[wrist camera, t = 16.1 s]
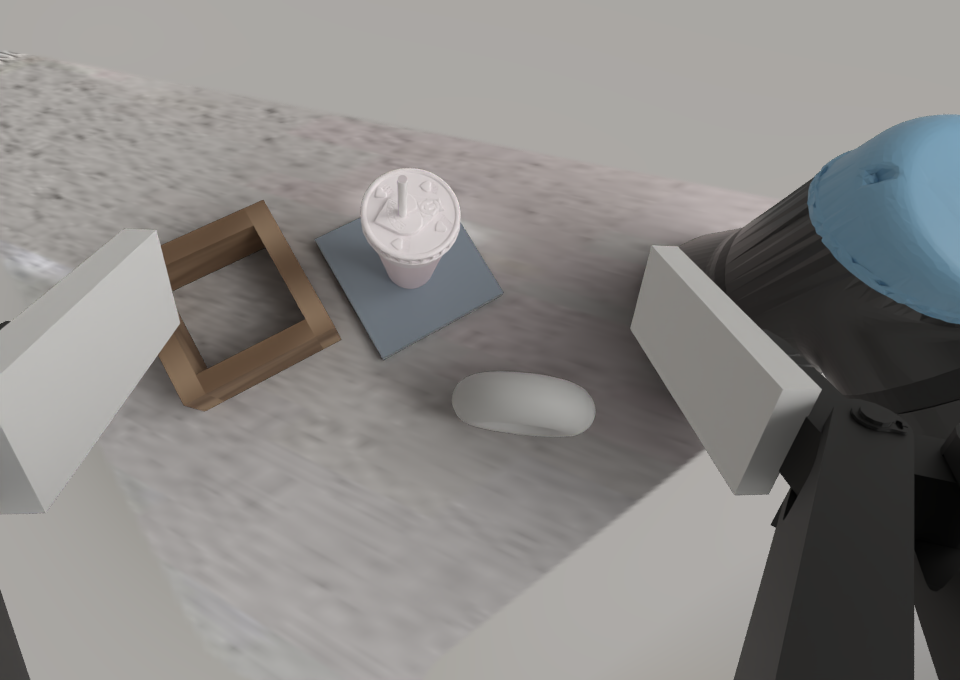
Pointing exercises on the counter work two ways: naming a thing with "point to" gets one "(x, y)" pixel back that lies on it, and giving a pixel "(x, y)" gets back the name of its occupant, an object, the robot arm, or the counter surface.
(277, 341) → the collar
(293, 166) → the counter surface
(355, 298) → the coaster
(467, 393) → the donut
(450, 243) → the smoothie
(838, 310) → the robot arm
